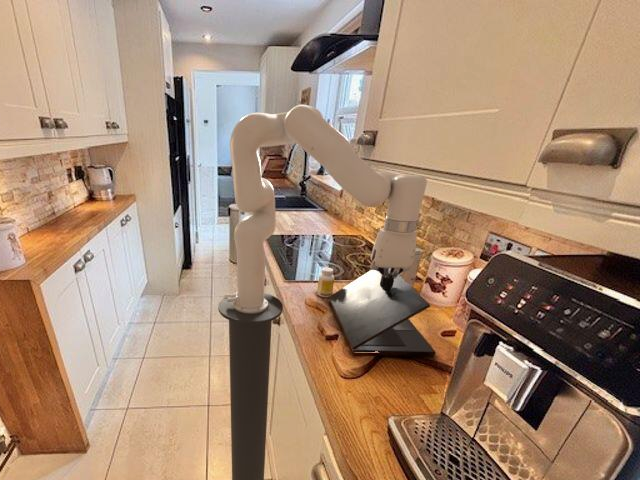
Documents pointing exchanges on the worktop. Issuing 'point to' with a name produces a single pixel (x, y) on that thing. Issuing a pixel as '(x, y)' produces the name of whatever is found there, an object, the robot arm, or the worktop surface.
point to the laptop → (394, 342)
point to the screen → (375, 306)
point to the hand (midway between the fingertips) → (385, 288)
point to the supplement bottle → (325, 283)
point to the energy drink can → (412, 269)
